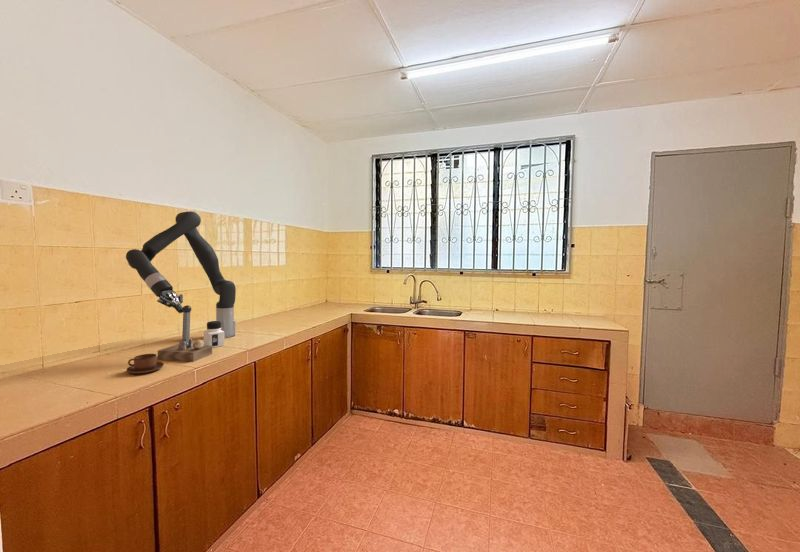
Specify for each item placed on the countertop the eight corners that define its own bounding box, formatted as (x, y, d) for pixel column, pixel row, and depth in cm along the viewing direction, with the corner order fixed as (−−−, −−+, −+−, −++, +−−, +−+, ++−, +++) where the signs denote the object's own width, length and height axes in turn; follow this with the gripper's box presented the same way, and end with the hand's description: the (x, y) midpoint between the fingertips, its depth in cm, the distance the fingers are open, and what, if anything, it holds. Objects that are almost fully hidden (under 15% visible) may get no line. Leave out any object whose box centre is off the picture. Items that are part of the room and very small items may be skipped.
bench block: (157, 359, 149) (157, 340, 149) (178, 351, 161) (178, 334, 161) (193, 361, 147) (193, 343, 147) (212, 353, 159) (212, 336, 158)
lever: (179, 348, 152) (180, 305, 151) (185, 346, 156) (186, 304, 155) (186, 349, 152) (187, 306, 151) (191, 347, 155) (193, 305, 154)
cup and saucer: (124, 378, 126) (123, 362, 126) (129, 368, 136) (129, 354, 136) (162, 373, 133) (162, 358, 132) (164, 364, 143) (164, 350, 142)
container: (224, 345, 174) (224, 321, 173) (208, 348, 168) (208, 323, 167) (219, 342, 179) (219, 319, 178) (203, 345, 173) (203, 321, 173)
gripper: (151, 280, 147) (175, 308, 146) (175, 278, 160) (198, 304, 159) (140, 291, 148) (165, 319, 147) (165, 288, 161) (188, 314, 160)
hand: (182, 311), depth 153 cm, fingers closed
